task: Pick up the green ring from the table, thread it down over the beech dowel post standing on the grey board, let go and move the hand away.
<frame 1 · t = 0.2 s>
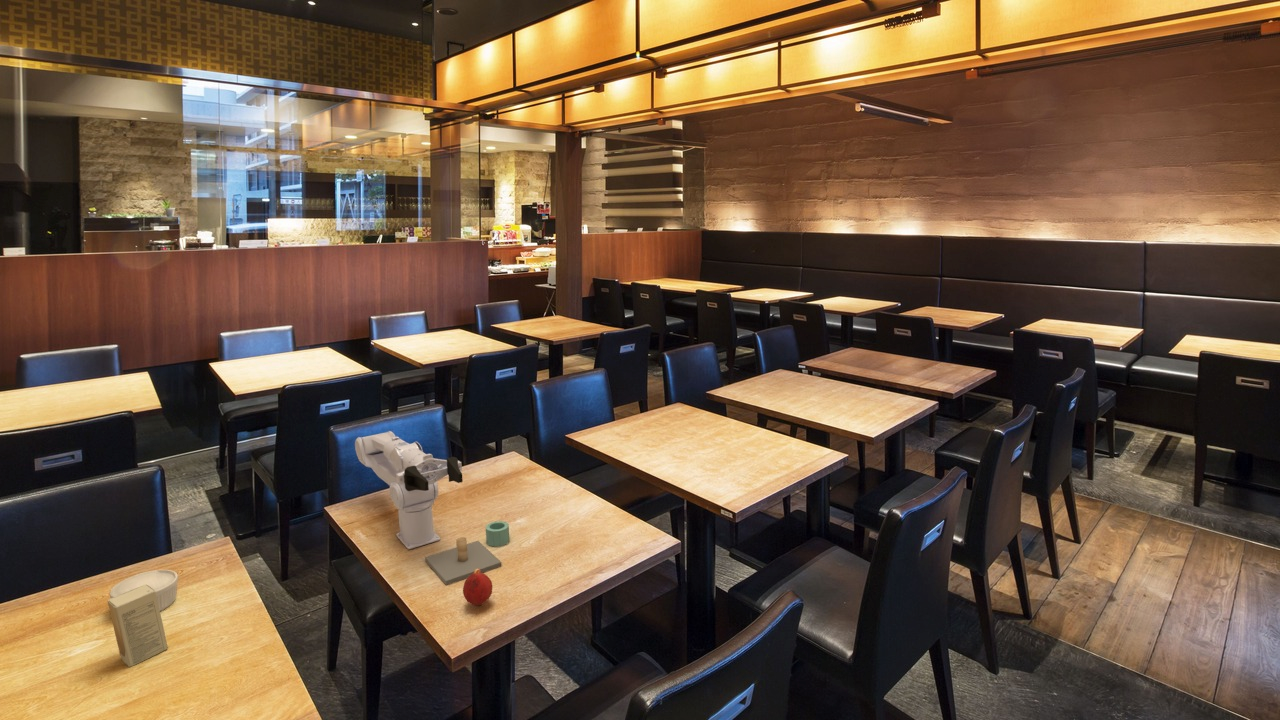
hand: (444, 482, 144), 21 cm above the table, tool horizontal, fingers open, 7 cm apart
beech post: (462, 549, 150), on the grey board, point 4 cm above the table
green ring: (498, 541, 161), on the table
skincare box: (144, 655, 121), on the table
grey board: (463, 563, 151), on the table
ramekin: (149, 607, 136), on the table
onion: (478, 606, 135), on the table
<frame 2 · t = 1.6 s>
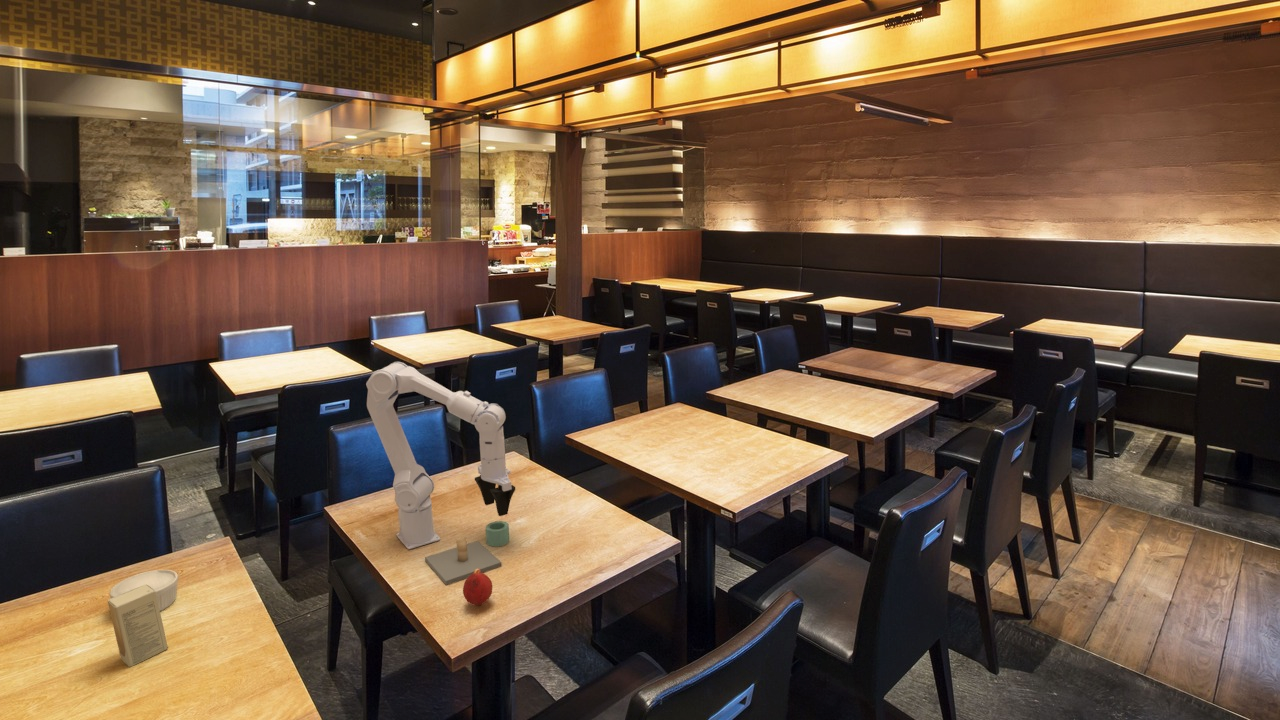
hand: (496, 509, 160), 8 cm above the table, tool pointing down, fingers open, 7 cm apart
nothing on the table moved.
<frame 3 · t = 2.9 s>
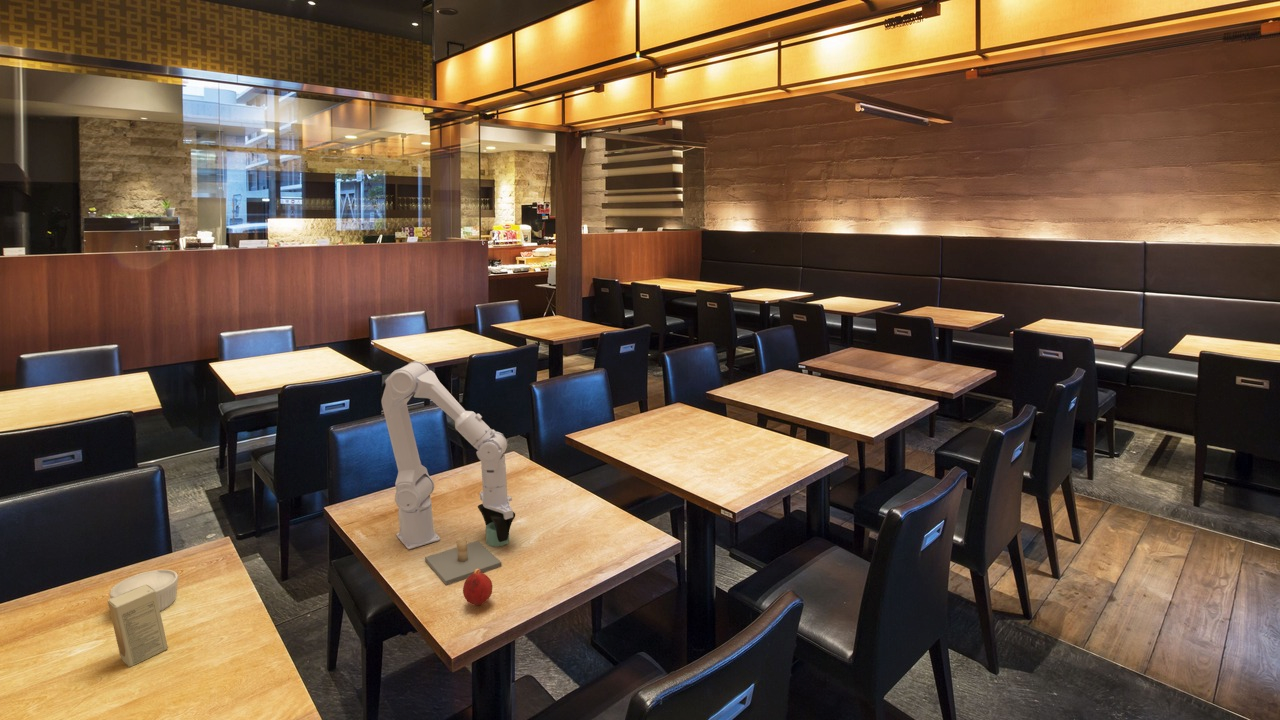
hand: (497, 535, 161), 1 cm above the table, tool pointing down, fingers closed on green ring, 5 cm apart
green ring: (498, 541, 161), on the table, touching gripper
everything else where it was.
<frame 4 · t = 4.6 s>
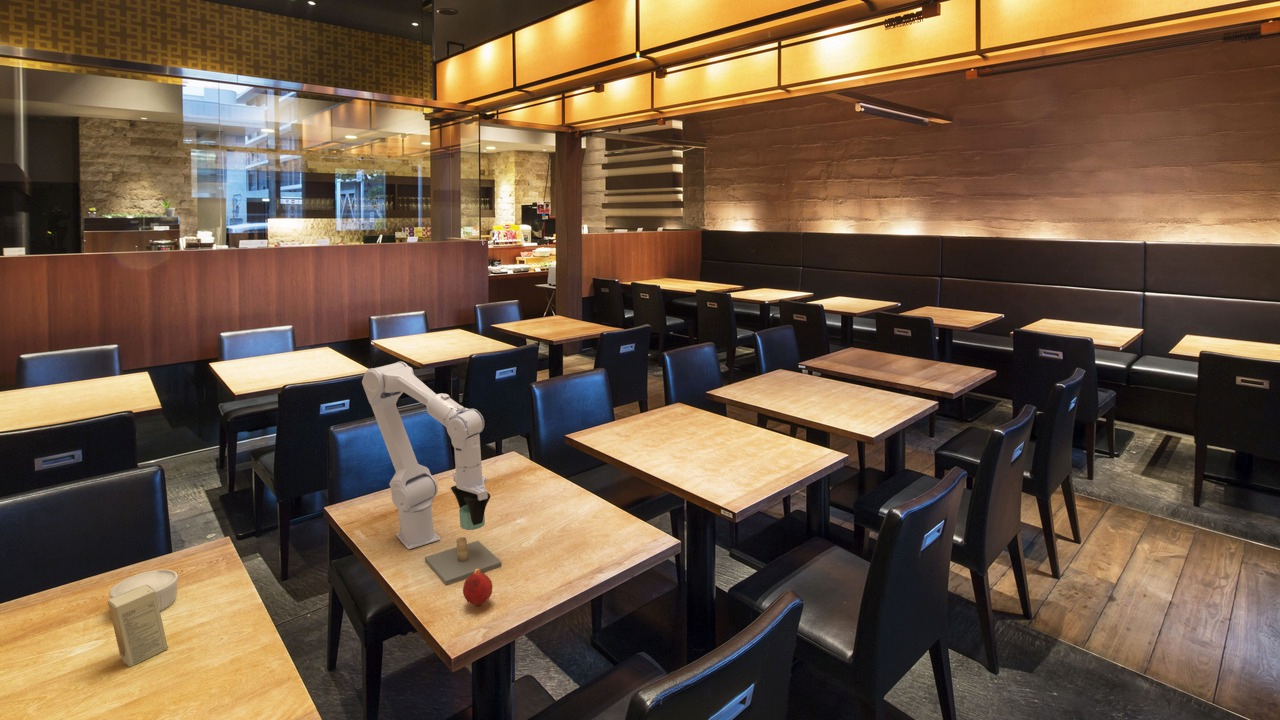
hand: (472, 519, 152), 9 cm above the table, tool pointing down, fingers closed on green ring, 5 cm apart
green ring: (472, 524, 153), point 8 cm above the table, touching gripper
everything else where it was.
when the fingers open (4 cm above the table, at t = 6.8 s): green ring drops 1 cm, resting on grey board.
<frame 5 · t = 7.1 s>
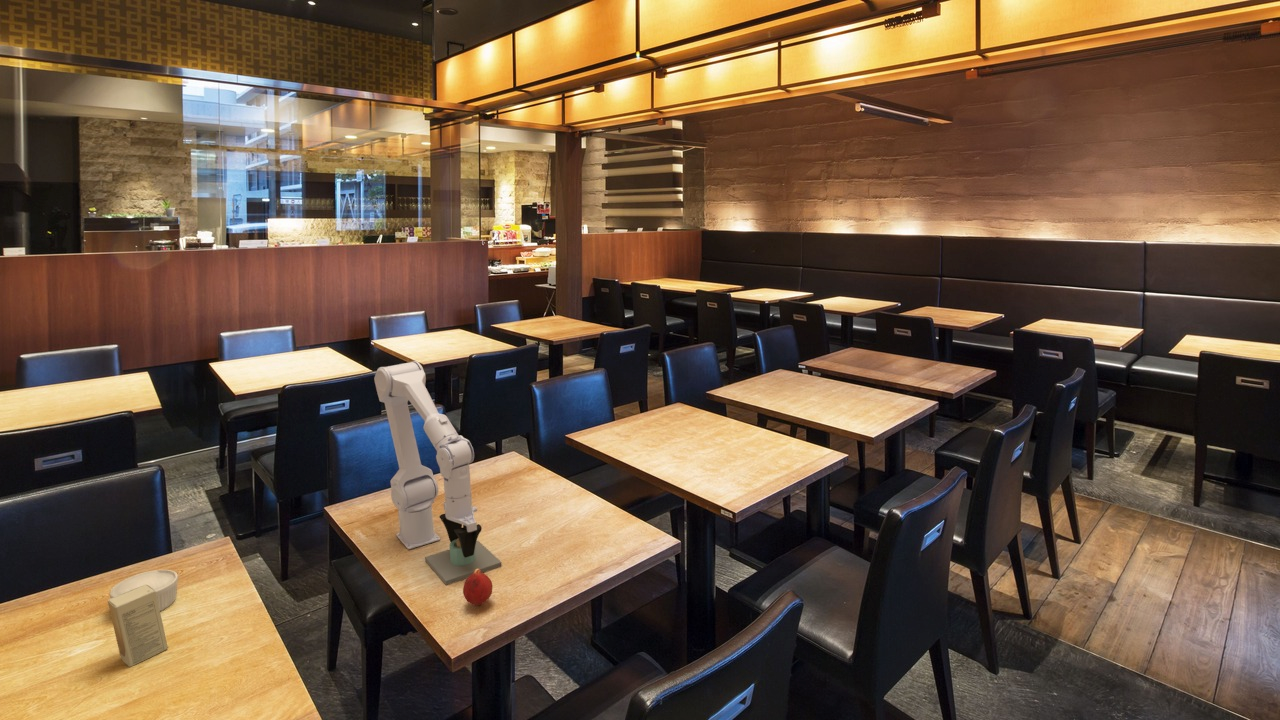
hand: (462, 549, 150), 4 cm above the table, tool pointing down, fingers open, 7 cm apart
green ring: (463, 559, 151), point 1 cm above the table, touching grey board
everything else where it was.
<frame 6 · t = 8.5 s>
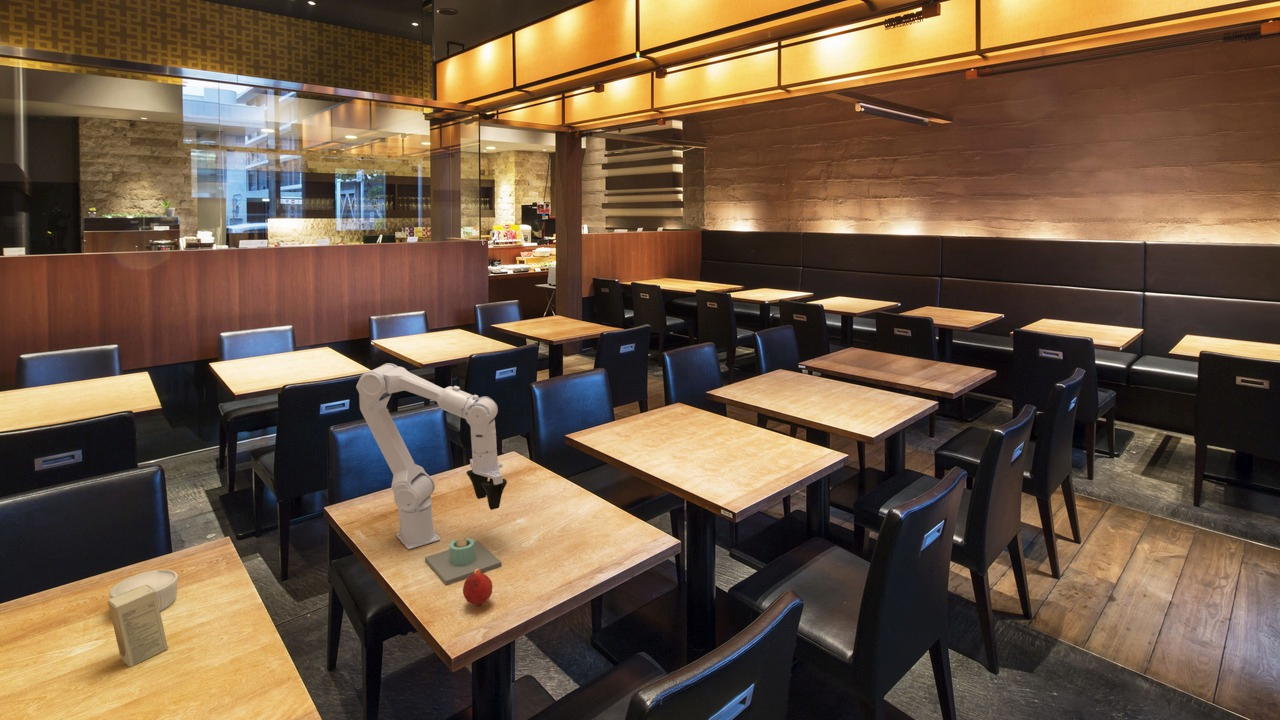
hand: (487, 503, 159), 10 cm above the table, tool pointing down, fingers open, 7 cm apart
nothing on the table moved.
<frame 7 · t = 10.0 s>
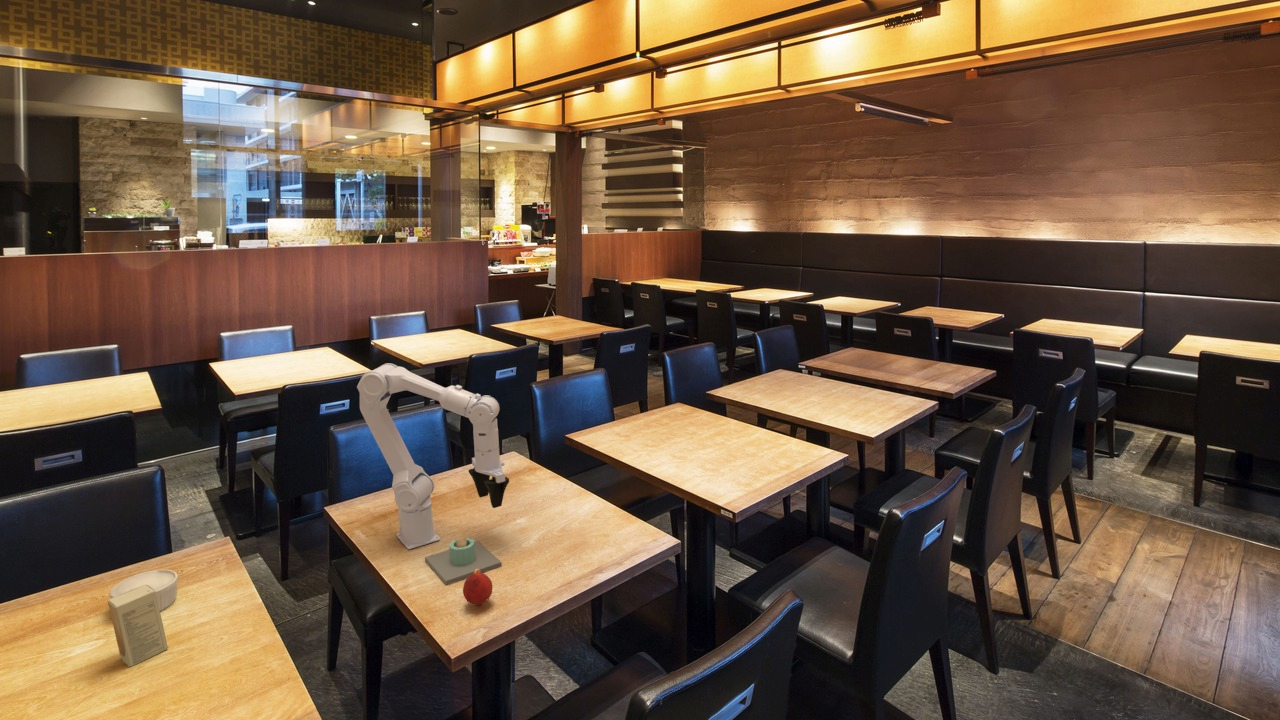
hand: (490, 501, 159), 10 cm above the table, tool pointing down, fingers open, 7 cm apart
nothing on the table moved.
at the end: green ring 0.1 cm off-centre on the grey board, point 1.0 cm above the grey board's base; the gripper is holding nothing; green ring tilted 0° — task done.
